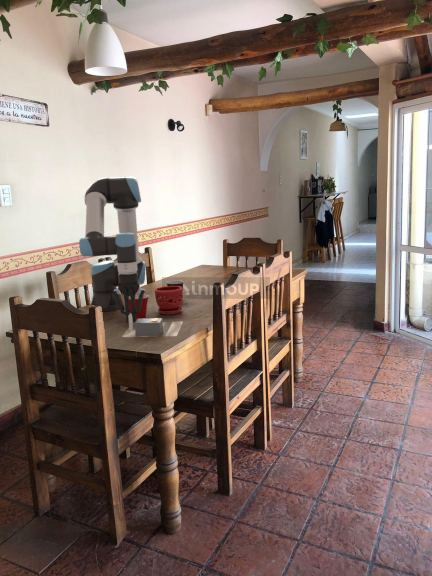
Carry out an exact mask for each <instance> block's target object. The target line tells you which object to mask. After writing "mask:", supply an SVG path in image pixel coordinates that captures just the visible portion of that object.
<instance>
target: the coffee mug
mask: <svg viewBox="0 0 432 576" xmlns="http://www.w3.org/2000/svg"><path fill="white" fill-rule="evenodd" d="M166 286H180V287H182V290H183V291H184V281H183V280H179V279H175V280H168V281H167V282H166ZM172 297H173V296H172Z"/></svg>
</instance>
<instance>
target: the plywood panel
mask: <svg viewBox="0 0 432 576" xmlns="http://www.w3.org/2000/svg"><path fill="white" fill-rule="evenodd" d="M183 322H184V321H163V332H162V334H161V336H136V335H135V330H134V331H130V330H129V327H128V329H126V330H125V332H124V334H122V336H121V338H151V337H152V338H153V337H156V338H157V337H158V338H160V337H161V338H162V337H164V338H165V337H177V336H178V334H179V332H180V329H181V327H182V325H183ZM134 326H135V323H134Z"/></svg>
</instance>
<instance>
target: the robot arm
mask: <svg viewBox="0 0 432 576" xmlns="http://www.w3.org/2000/svg"><path fill="white" fill-rule="evenodd" d="M84 194H85V195H84V205H85V206H86V209H85V210H86V211H85V212H86V213H85V214H86V215H85V235H84V237H81V238H80V239H79V242H78V245H79V252H80V253H79V254H80V255H81V256H82V257H91V258H92V257H103V256H116V259H117V261H116V263H115V260H104V261H99V262H96V263H94V264H92V265H91V267H90V271H91V272H90V275H91V283H92V297H91V301H90V306H91V305H95V306H101V307H102V310H103V311H102V312H110V311H116V310H118V309H119V311H120V314H122V315H125V321H126V323H128V328H129V330H130V331H134V330H135V326H134V323H135V322H136V314H138V313H139V312H140V311H141V305H142V300H143V294H145V292H146V289H145V288H142V287H141V286H140V285H143V284H144V283H145V281H146V262H145V261H144V260H143V258H142V257H141V256H140V253H139V251H140V250H139V239H138V224H137V211H136V210H137V208H138V207H139V204H140V203H141V202H142V198H141V192H140V187H139V181H138V179H137V178H135V177H134V176H118V177H102V178H98V179H97V180H95V181H94V182H92V183H91V184H90V186H88V188H87V190H86V192H85V193H84ZM107 204H109V205H110V204H112V205H113V208H114V209H115V210H116V211H117V212H116V213H117V214H116V215H117V221H118V223H117V224H118V233H116V234H115V235H113V236H105V207H106V205H107ZM120 293H121V294H122V295H123V299H124V301H123V299H122V296H121V294H120ZM137 293H138V294H140V295H139V299H138V305H137V310H136V302H135V295H137ZM129 296H130V298H131V309H132V314H130V306H129Z"/></svg>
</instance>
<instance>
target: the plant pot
mask: <svg viewBox="0 0 432 576" xmlns="http://www.w3.org/2000/svg"><path fill="white" fill-rule="evenodd" d="M183 293H184V289H183V290H182V287H180V286H167V285H165V286H160V287H156V288H154V298H155V301H156V302H155V303H156V304H157V307H158V308H157V311H158V313H159V314H161V315H177V314H179V313H181V312H182V311H183V306H182V303H183V298H184V295H183ZM172 296H173V297H172Z"/></svg>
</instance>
